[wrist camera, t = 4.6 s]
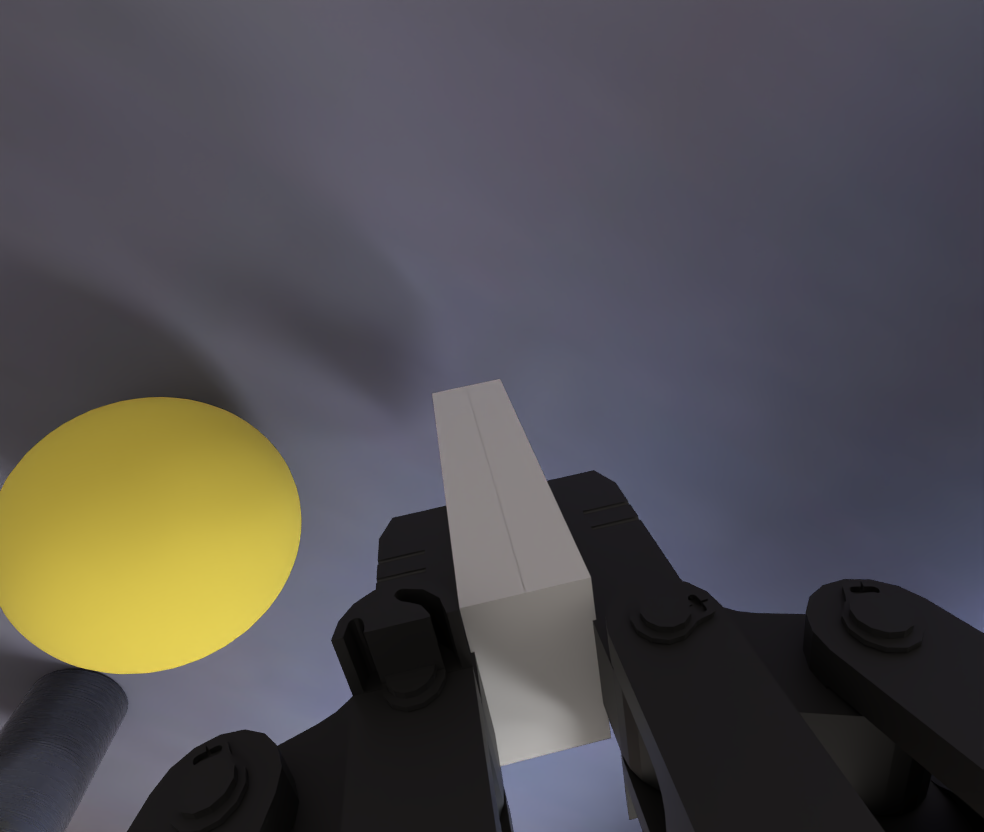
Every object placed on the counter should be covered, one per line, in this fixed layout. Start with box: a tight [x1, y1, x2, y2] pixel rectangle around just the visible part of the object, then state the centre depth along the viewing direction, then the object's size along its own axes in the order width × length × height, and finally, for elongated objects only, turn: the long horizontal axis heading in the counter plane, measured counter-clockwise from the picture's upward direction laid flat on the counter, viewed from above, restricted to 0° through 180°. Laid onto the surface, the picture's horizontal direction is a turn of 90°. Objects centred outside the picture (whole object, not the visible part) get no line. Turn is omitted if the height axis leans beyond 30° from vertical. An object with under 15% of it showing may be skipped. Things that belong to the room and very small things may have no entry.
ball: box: [0, 397, 301, 674], centre depth 12 cm, size 6×6×6 cm
